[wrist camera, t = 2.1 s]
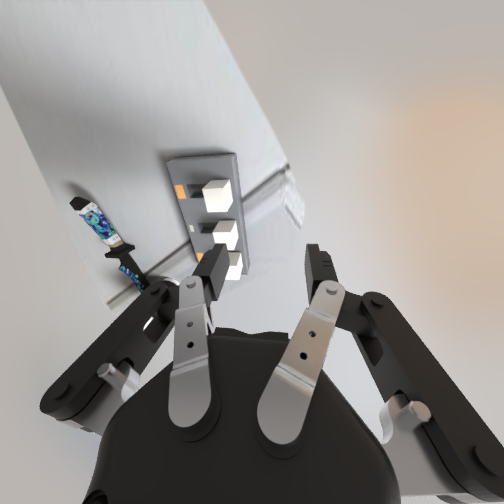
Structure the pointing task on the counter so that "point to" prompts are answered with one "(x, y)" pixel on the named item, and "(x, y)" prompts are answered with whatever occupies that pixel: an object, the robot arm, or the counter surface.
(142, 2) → the counter surface
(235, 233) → the tab middle
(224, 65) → the counter surface
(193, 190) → the switch block
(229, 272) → the tab far
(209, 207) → the tab near
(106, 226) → the knife
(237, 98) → the counter surface
